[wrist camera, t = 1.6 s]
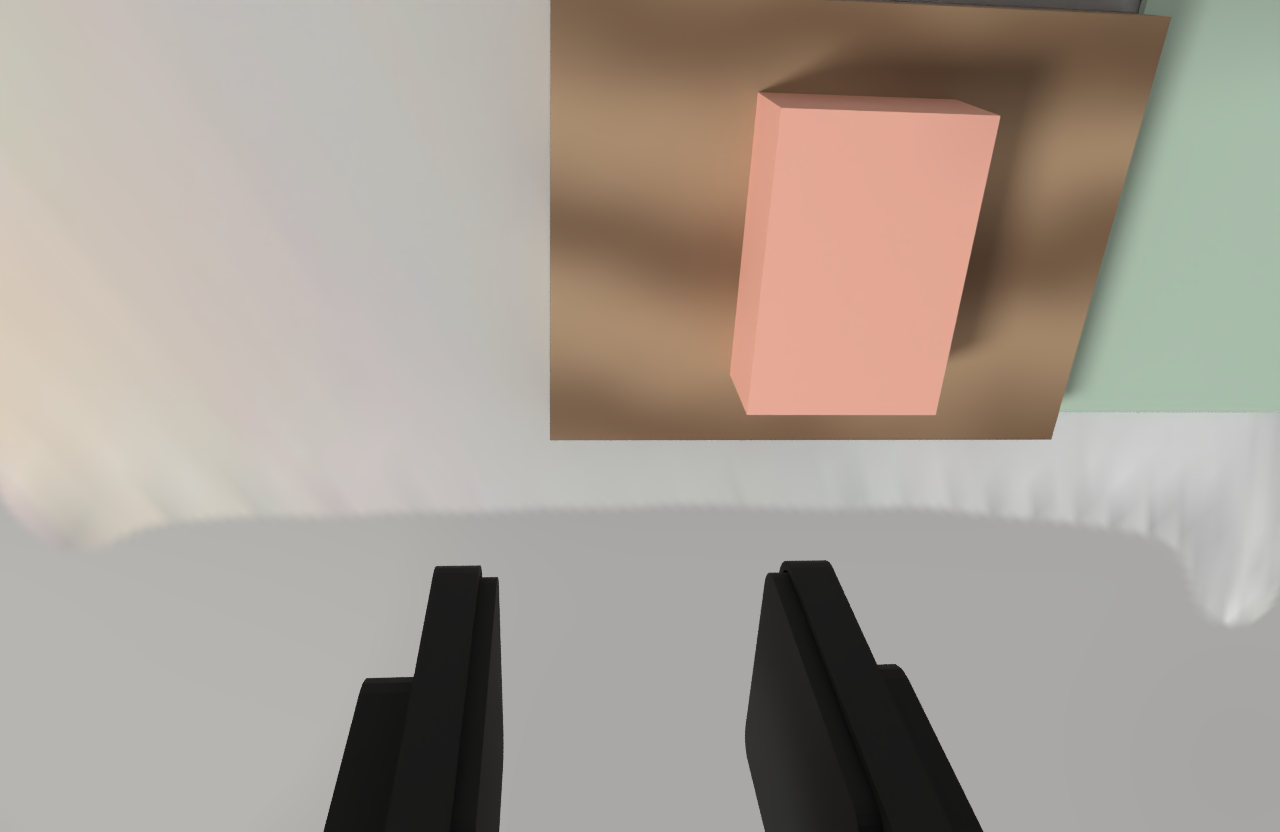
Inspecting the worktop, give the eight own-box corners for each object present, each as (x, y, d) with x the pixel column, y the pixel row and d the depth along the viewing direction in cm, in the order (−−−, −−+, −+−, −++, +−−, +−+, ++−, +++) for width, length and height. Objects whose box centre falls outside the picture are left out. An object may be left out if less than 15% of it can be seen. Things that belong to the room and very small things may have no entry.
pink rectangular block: (757, 91, 26) (781, 107, 24) (956, 99, 27) (1000, 115, 24) (729, 374, 30) (747, 415, 28) (902, 375, 31) (935, 415, 28)
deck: (550, -16, 27) (550, -13, 25) (1123, 11, 29) (1171, 16, 26) (550, 407, 33) (550, 440, 31) (1019, 408, 35) (1050, 439, 33)
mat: (1147, -23, 28) (1153, -23, 28) (1467, -6, 29) (1475, -6, 29) (1031, 408, 35) (1035, 412, 35) (1294, 409, 36) (1300, 412, 36)
